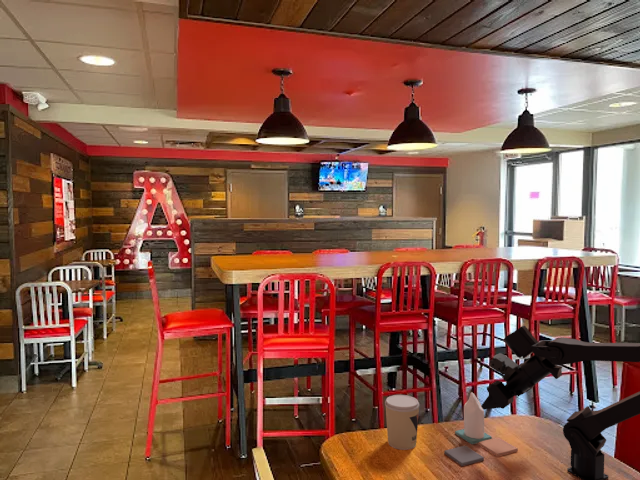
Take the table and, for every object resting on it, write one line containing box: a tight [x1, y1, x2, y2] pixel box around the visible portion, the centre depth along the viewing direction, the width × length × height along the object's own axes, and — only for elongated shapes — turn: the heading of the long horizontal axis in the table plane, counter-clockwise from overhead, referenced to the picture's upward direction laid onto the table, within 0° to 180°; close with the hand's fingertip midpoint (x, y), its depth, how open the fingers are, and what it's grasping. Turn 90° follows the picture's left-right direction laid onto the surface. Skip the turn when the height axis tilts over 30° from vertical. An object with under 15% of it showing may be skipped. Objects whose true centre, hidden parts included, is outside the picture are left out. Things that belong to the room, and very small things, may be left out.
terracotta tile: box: [478, 436, 519, 458], centre depth 130 cm, size 7×7×1 cm
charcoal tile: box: [443, 445, 485, 467], centre depth 125 cm, size 7×7×1 cm
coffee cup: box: [384, 394, 420, 451], centre depth 133 cm, size 9×9×12 cm
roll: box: [463, 391, 485, 439], centre depth 136 cm, size 6×12×6 cm
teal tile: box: [454, 428, 493, 445], centre depth 136 cm, size 7×7×1 cm
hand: (489, 402), depth 133 cm, fingers open, 9 cm apart
